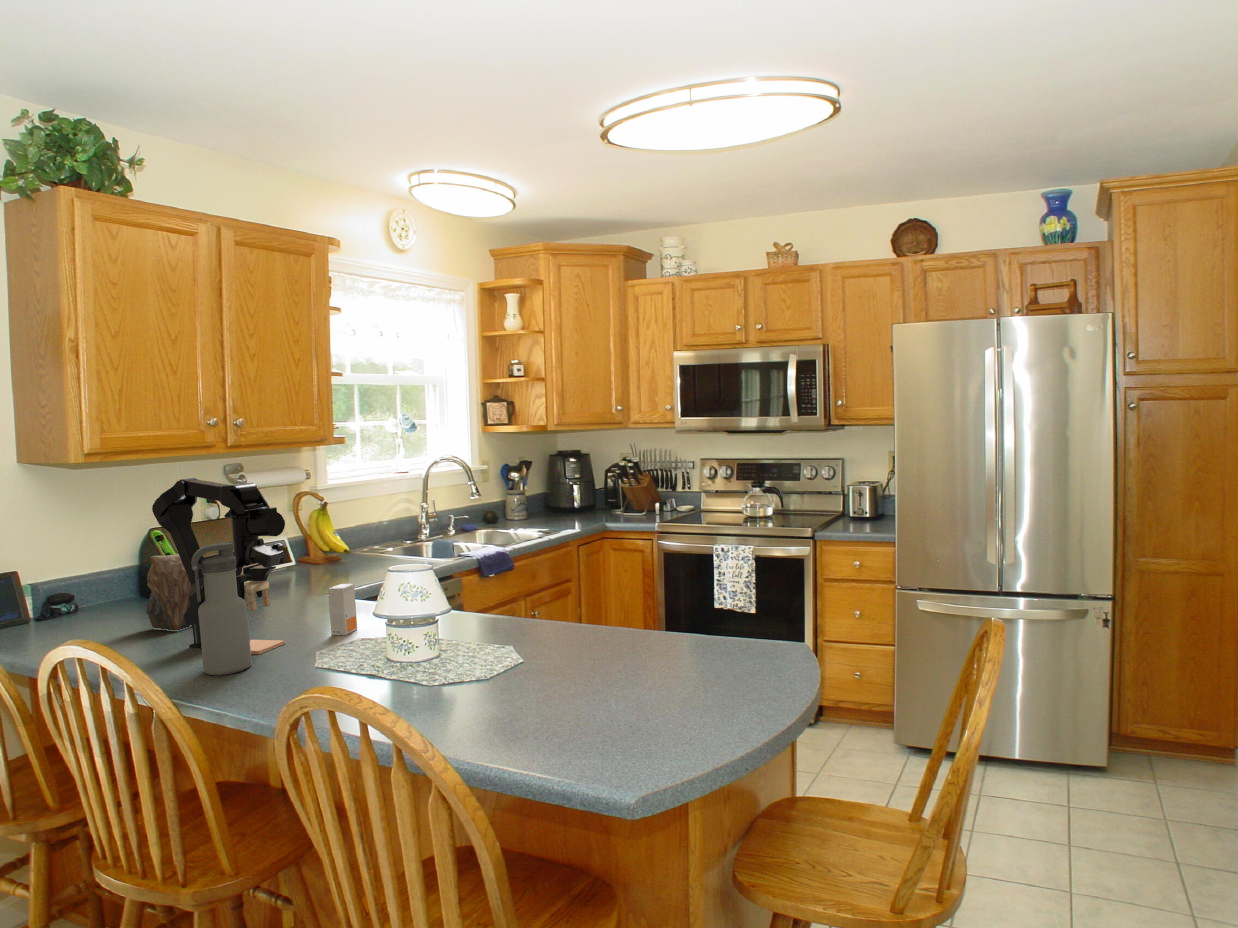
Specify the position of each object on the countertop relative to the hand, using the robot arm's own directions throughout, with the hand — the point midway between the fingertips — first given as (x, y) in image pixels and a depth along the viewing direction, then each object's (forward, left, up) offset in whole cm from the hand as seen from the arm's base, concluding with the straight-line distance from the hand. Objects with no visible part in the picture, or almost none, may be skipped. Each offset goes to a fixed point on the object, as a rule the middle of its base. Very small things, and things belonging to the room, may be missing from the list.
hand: (251, 599), depth 209 cm
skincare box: (+14, +16, -12) cm, 24 cm away
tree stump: (-41, +17, -12) cm, 46 cm away
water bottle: (+6, -16, -12) cm, 21 cm away
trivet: (0, 0, -12) cm, 12 cm away
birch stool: (0, 0, -2) cm, 2 cm away
